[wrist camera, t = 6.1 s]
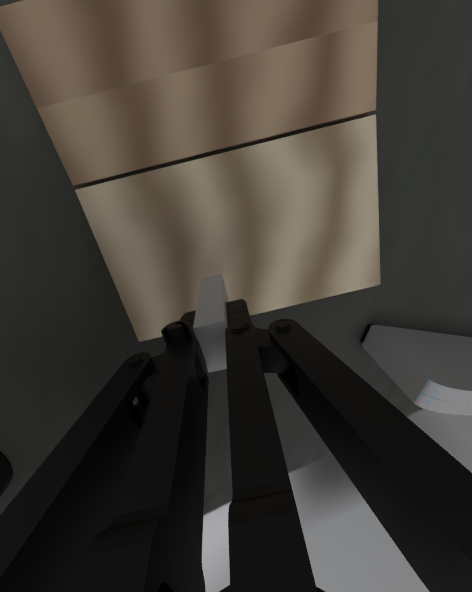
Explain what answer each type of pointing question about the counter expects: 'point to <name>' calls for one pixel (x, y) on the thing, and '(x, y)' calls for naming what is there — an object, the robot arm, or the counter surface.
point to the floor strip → (187, 74)
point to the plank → (244, 225)
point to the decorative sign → (426, 366)
